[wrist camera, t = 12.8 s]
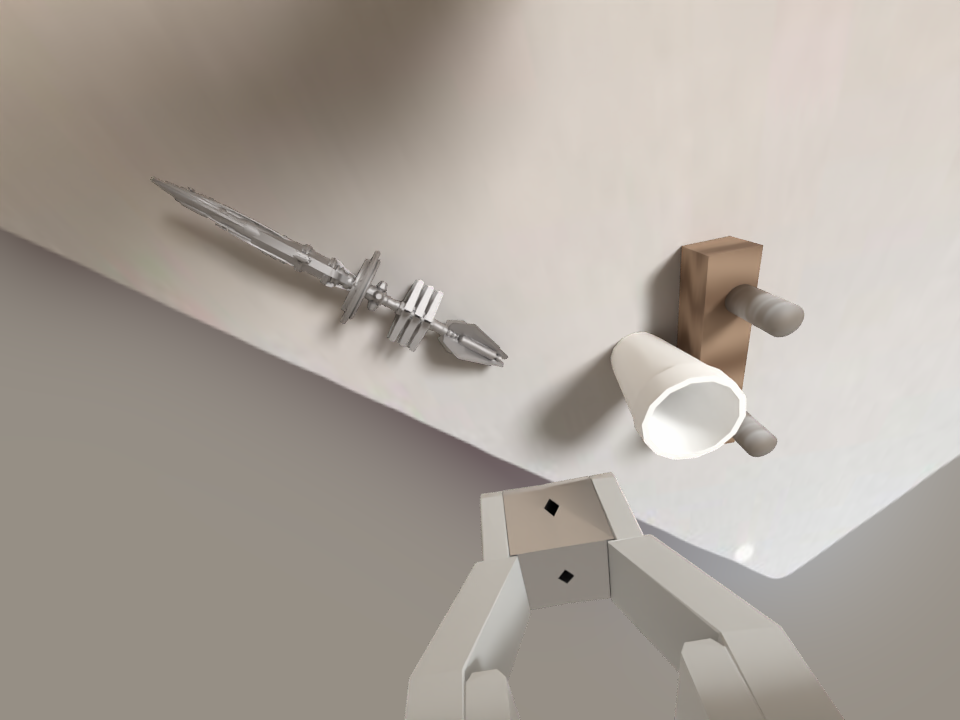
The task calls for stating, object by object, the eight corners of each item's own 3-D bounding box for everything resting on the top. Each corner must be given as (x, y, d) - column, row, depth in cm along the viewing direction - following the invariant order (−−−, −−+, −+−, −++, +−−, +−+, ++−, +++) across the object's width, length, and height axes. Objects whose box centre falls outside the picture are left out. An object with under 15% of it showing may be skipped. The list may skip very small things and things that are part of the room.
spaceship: (147, 114, 27) (99, 215, 27) (534, 333, 39) (500, 401, 40) (191, 151, 34) (153, 230, 34) (505, 326, 47) (476, 383, 47)
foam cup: (691, 334, 45) (769, 394, 33) (649, 396, 49) (705, 468, 37) (622, 309, 43) (679, 362, 32) (584, 375, 47) (622, 444, 35)
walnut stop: (681, 246, 40) (751, 272, 30) (729, 236, 40) (816, 259, 30) (673, 424, 51) (722, 486, 41) (710, 417, 51) (769, 478, 41)
